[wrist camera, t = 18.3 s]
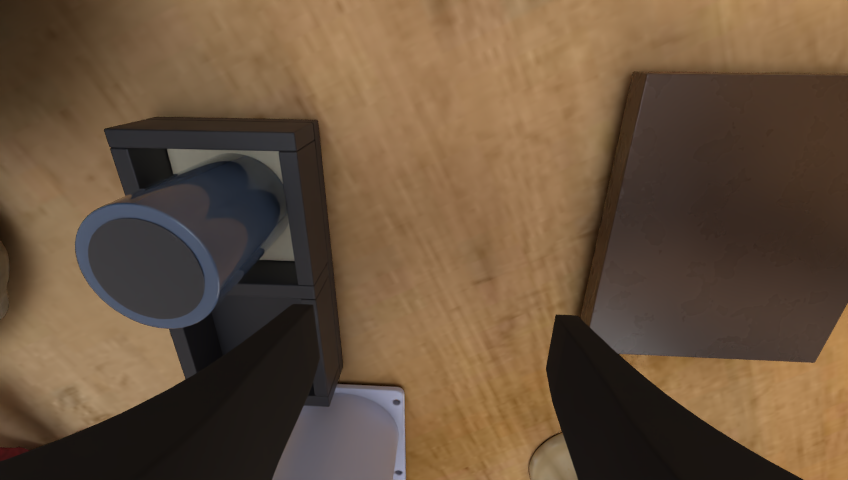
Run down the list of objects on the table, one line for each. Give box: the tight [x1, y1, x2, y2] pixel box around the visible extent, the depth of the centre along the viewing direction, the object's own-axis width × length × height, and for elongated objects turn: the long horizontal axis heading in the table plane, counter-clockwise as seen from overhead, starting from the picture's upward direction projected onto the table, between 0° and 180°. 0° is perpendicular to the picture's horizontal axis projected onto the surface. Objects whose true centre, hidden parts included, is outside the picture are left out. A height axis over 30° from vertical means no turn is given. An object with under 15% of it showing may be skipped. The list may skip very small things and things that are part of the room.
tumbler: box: [75, 153, 289, 329], centre depth 17 cm, size 5×5×7 cm
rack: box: [104, 117, 343, 407], centre depth 21 cm, size 15×8×3 cm, turn 0°
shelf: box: [580, 72, 848, 363], centre depth 19 cm, size 14×12×2 cm
